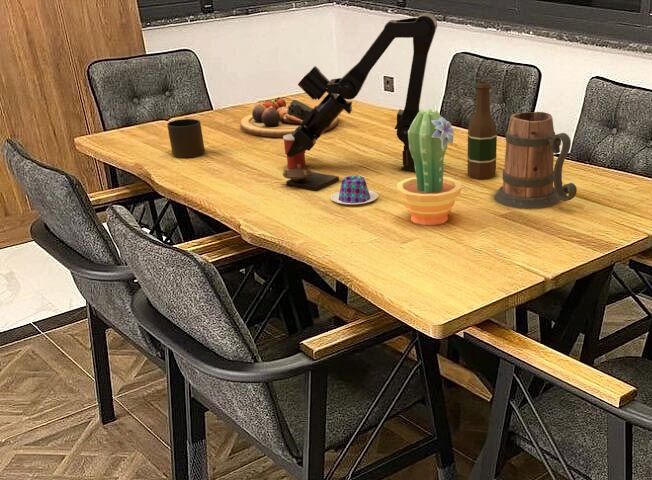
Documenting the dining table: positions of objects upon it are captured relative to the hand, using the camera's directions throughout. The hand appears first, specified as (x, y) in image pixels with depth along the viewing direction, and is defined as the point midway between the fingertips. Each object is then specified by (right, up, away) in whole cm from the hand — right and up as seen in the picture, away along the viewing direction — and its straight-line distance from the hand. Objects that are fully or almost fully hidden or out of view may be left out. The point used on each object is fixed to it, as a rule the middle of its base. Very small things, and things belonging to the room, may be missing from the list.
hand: (290, 152), depth 234 cm
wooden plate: (-7, +22, +42) cm, 48 cm away
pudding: (+20, -19, -22) cm, 35 cm away
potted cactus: (+39, -27, -35) cm, 59 cm away
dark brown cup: (-34, +5, +16) cm, 38 cm away
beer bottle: (+53, -8, -6) cm, 54 cm away
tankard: (+66, -20, -25) cm, 73 cm away
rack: (+7, -12, -11) cm, 17 cm away
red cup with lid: (+1, -3, +2) cm, 4 cm away
